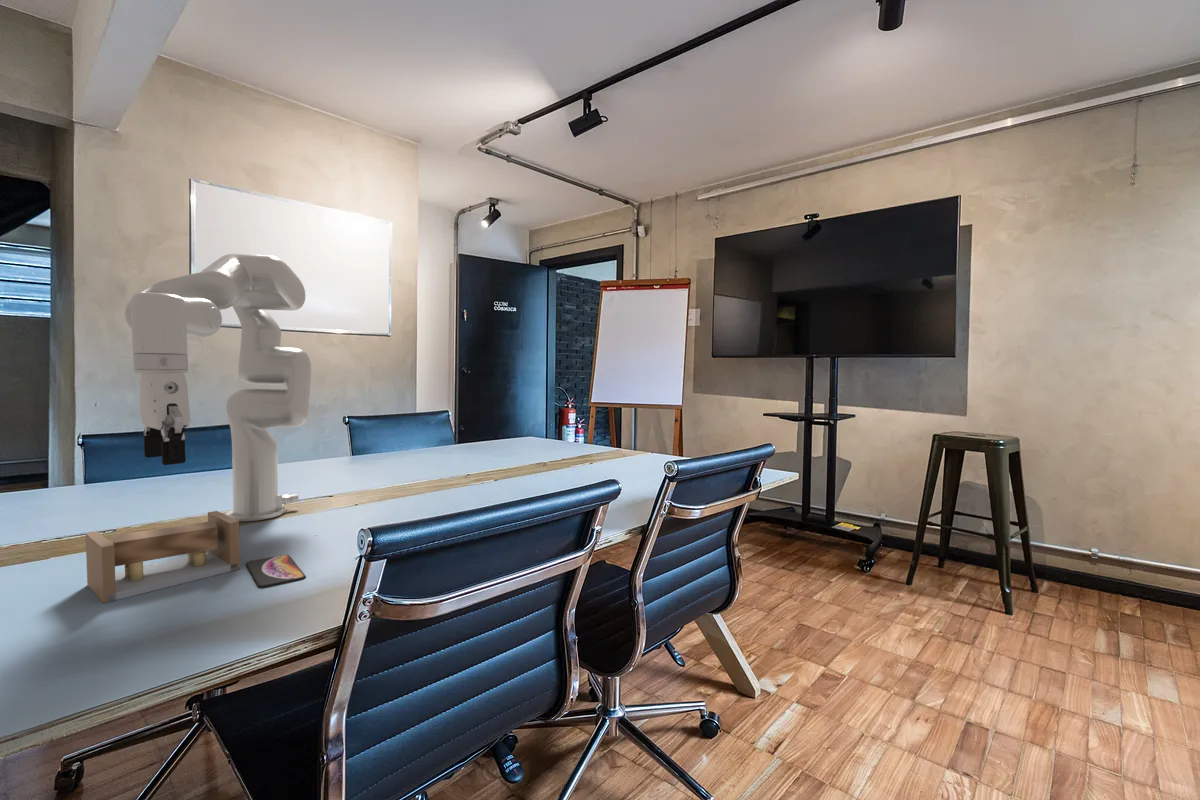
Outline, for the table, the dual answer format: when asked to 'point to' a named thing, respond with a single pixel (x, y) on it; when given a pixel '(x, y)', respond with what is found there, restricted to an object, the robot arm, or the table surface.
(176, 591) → the table surface
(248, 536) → the table surface
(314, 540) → the table surface
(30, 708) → the table surface
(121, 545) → the shelf board
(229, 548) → the peg stand
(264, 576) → the smartphone
